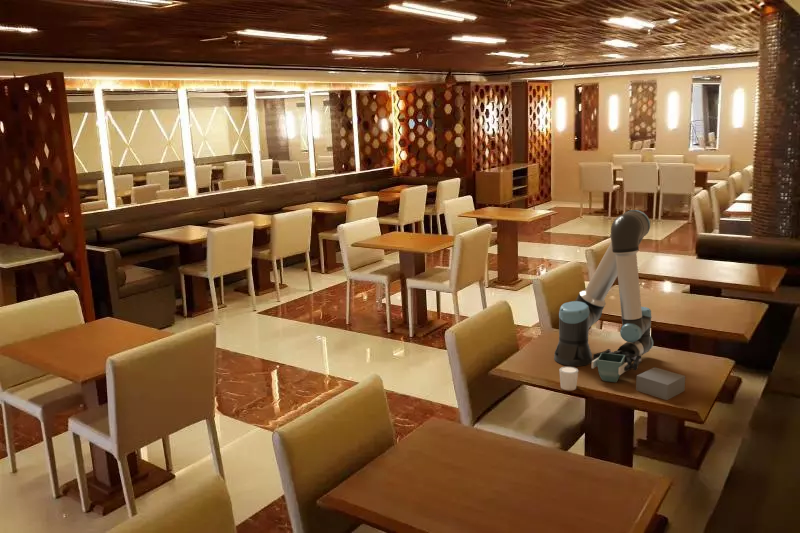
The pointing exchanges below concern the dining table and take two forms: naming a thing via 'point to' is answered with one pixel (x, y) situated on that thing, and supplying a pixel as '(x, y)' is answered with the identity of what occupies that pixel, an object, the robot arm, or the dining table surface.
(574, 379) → the shot glass
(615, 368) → the flower pot
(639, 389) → the charcoal stand
